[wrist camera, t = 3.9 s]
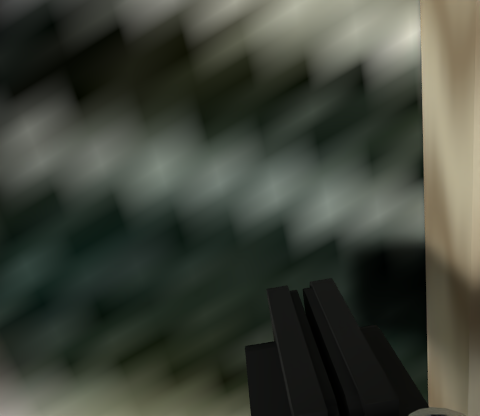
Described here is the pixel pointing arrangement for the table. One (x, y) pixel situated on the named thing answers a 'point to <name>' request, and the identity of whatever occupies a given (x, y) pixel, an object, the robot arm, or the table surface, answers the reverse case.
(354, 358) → the robot arm
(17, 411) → the table surface
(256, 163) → the table surface
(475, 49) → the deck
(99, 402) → the table surface
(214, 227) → the table surface
